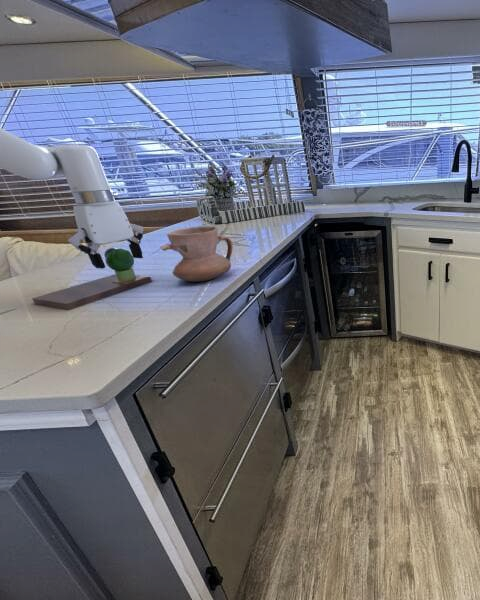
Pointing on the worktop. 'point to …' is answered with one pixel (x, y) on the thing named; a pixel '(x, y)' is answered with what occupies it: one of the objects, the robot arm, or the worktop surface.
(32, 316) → the worktop surface
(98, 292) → the cutting board
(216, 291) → the worktop surface
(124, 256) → the broccoli
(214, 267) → the ceramic jug
